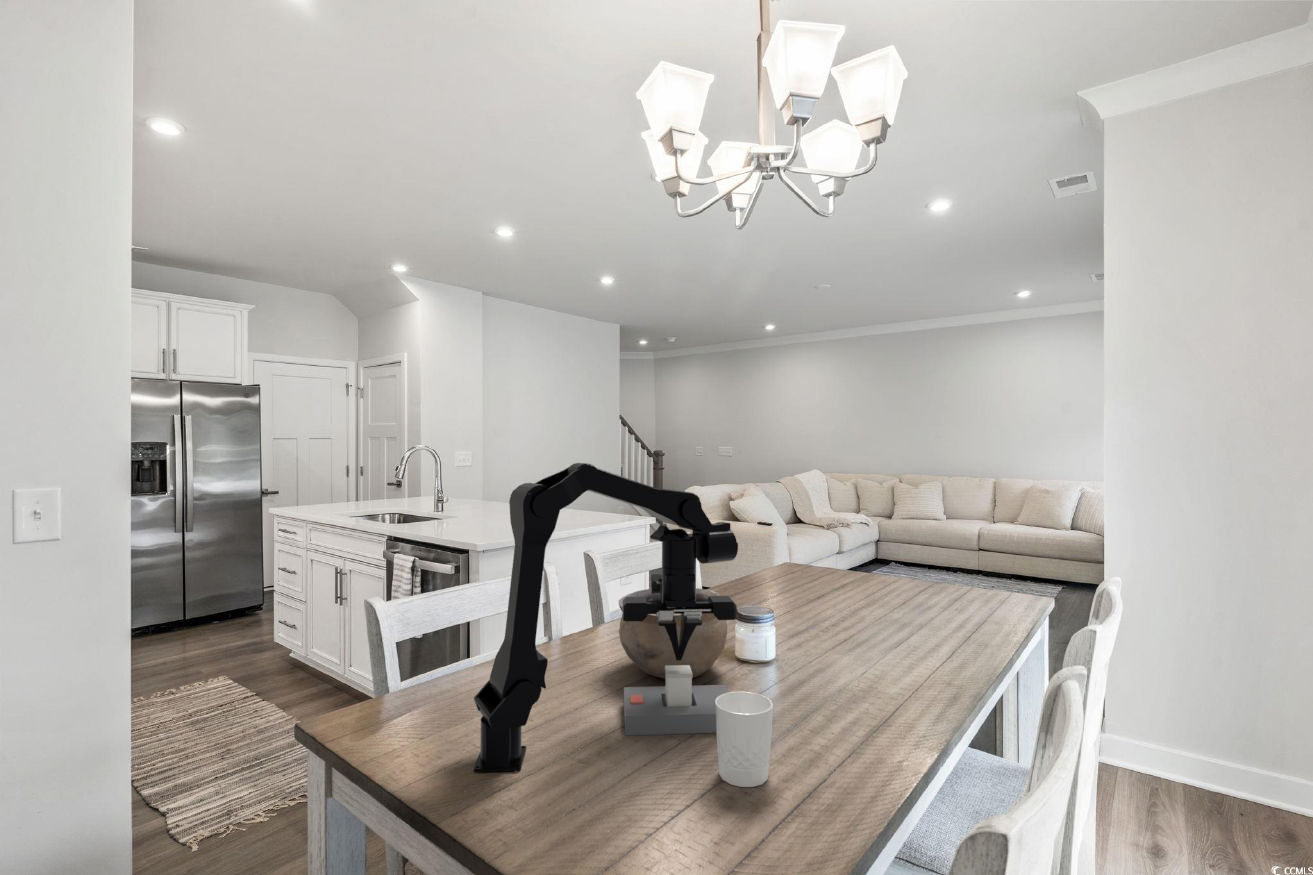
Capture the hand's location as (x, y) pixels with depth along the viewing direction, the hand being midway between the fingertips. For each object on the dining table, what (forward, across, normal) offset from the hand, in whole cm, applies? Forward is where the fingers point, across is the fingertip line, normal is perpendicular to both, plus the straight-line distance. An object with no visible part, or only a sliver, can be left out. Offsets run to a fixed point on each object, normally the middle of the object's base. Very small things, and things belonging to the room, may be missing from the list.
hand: (678, 659), depth 107 cm
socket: (+10, 0, 0) cm, 10 cm away
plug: (+10, 0, 0) cm, 10 cm away
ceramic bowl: (+10, -1, -21) cm, 23 cm away
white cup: (+10, -7, +19) cm, 23 cm away
